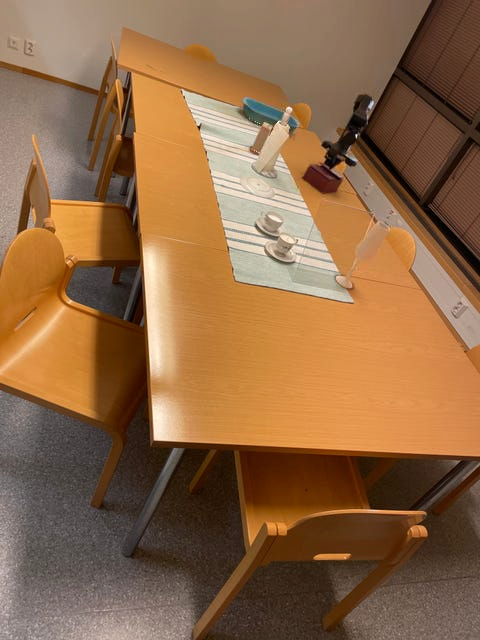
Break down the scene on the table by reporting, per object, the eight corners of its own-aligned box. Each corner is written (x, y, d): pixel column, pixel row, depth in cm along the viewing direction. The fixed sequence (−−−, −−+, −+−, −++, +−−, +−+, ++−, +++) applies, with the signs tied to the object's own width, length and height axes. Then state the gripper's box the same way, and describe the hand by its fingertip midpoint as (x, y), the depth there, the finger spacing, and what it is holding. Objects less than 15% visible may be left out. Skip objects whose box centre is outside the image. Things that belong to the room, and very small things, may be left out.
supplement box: (259, 155, 228) (271, 129, 220) (250, 150, 228) (261, 125, 220) (261, 150, 235) (273, 125, 227) (252, 146, 234) (264, 121, 227)
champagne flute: (349, 290, 163) (389, 234, 149) (333, 279, 165) (372, 222, 151) (354, 284, 169) (394, 229, 155) (339, 273, 170) (377, 217, 156)
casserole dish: (242, 120, 260) (247, 107, 256) (234, 104, 275) (239, 92, 271) (298, 141, 275) (304, 129, 271) (288, 125, 291) (293, 114, 287)
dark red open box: (317, 176, 241) (324, 163, 237) (336, 191, 237) (344, 178, 233) (302, 177, 230) (309, 164, 226) (322, 193, 226) (329, 179, 222)
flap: (324, 164, 237) (324, 163, 237) (343, 178, 233) (344, 178, 233) (318, 162, 231) (318, 161, 231) (338, 177, 227) (338, 176, 227)
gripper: (324, 128, 218) (307, 159, 228) (355, 150, 212) (337, 181, 221) (335, 129, 227) (319, 159, 236) (365, 150, 221) (347, 180, 230)
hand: (330, 169), depth 231 cm, fingers closed, pressing on flap
